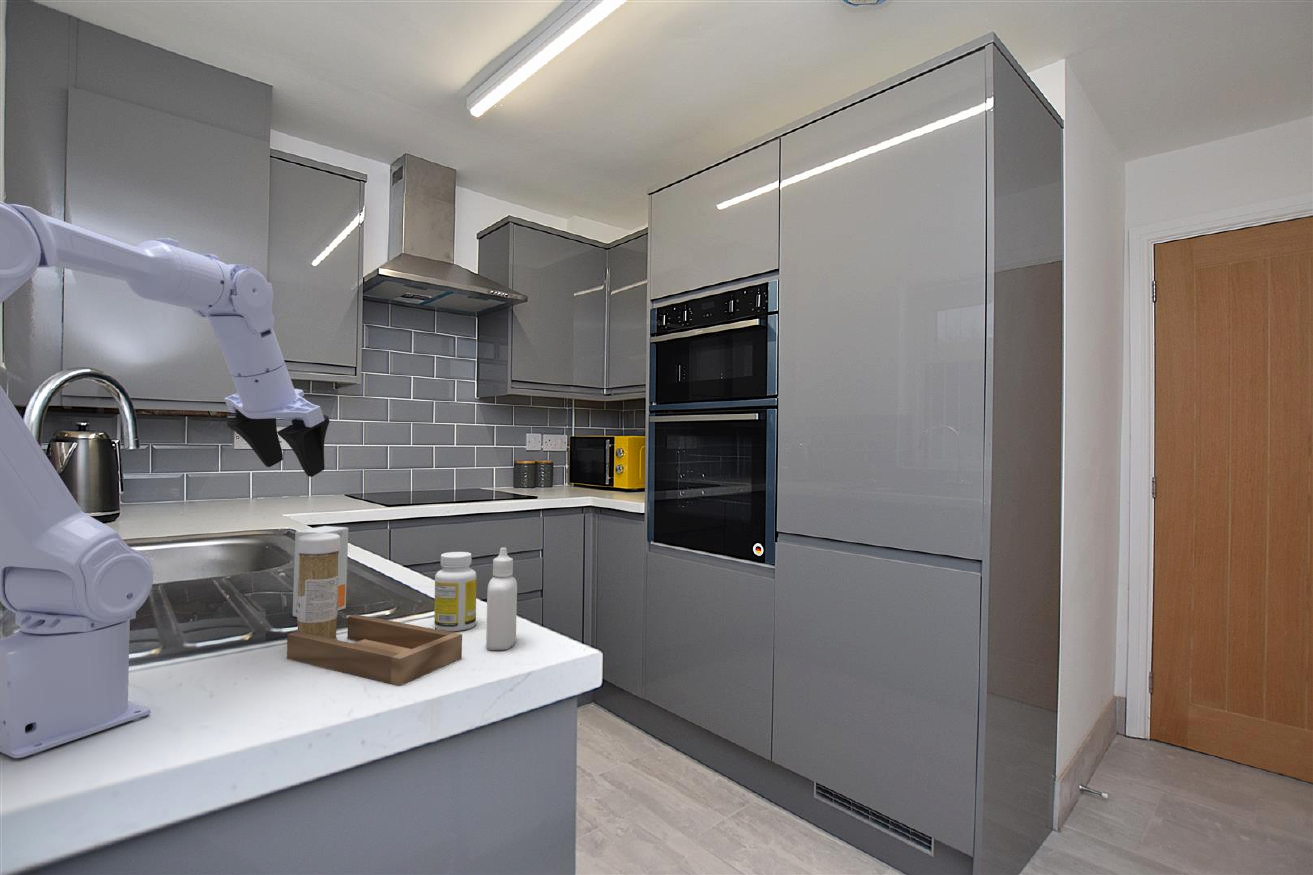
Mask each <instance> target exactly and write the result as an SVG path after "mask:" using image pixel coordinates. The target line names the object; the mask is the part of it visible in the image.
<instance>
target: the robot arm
mask: <svg viewBox="0 0 1313 875" xmlns="http://www.w3.org/2000/svg"><path fill="white" fill-rule="evenodd" d="M51 267H55V268H56V267H57V268H61V269H67V270H70V271H75V272H76V271H77V272H81V273H86V274H91V275H96V276H101V277H106V278H111V279H116V280H122V281H125V282H126V283H127V286H128V287H129V289H131V291H132V292H133V293H134V294H136V295H137V296H138V297H140V298H142V299H145V300H151V301H155V302H159V303H163V304H168V305H172V306H176V307H181V308H185V309H190V310H191V311H192V312H193V313H195V315H197V316H198V317H200V318H206V317H207V318H208V321H209V322H210V326H211V329H212V331H213V333H214V336H215V339H216V340H217V344H218V346H219V349H220V351H221V353H222V357H223V359H224V361H225V364H226V366H227V369H228V371H229V374H230V377H231V379H232V382H233V384H234V387H235V389H236V393H234V394H231V395H229V396H226V397H224V399H223V400H224V401H225V405H226V406H227V410H228V412H229V413H231V414H235V416H234V417H233V418H231V419H229V420H227V421H226V425H227V427H228V428H229V429H231V430H232V431H233V432H235V433H236V434H237V435H238V436H240V437H241V438H242V439H243V440H244V441H245V442H246V443H247V444H248V446H249V447H250V448H251V449H252V451H254V453H255V454H256V456H257V457H258V458H259V460H260V461H261V462H262V464H263V465H264V466H265V467H267V468H271V467H273V466H275V465H277V464H278V463H281V462H282V461H283V460H284V456H283V455H284V454H283V451H282V445H281V442H280V438H281V439H283V440H284V441H285V443H286V444H287V445H289V447H290V448H291V449H292V451H293V453H294V454H295V456H296V457H297V460H298V462H299V464H300V466H301V468H302V470H303V472H304V473H305V474H306V476H307V477H309V478H312V477H314V476H316V475H318V474H319V473H321V472H323V471H325V466H326V465H325V440H326V435H327V429H328V427H329V425H330V417H329V416H328V415H326V414H324V413H323V411H322V408H321V406H320V405H317V404H314V403H312V402H310V401H309V400H307V399H306V398H304V396H305V393H304V390H303V389H299V388H295V387H294V385H293V381H292V379H291V376H290V373H289V370H288V368H287V365H286V362H285V361H286V360H285V358H284V356H283V353H282V350H281V347H280V344H279V341H278V339H277V336H276V332H275V331H274V327H275V320H276V318H275V315H274V313H273V302H274V301H273V300H274V289H273V285H272V282H268V280H267V278H266V277H265V276H264V275H263V273H262V272H260V271H259V270H258V269H256V268H255V267H253V266H252V265H249V264H245V263H239V264H238V263H237V264H236V263H234V264H226V263H225V262H223V261H221V260H220V257H219V256H218V255H215V254H212V253H202V254H200V253H196V252H193V251H192V250H191V251H190V250H187V249H184V248H181V247H180V241H179V240H175V239H172V238H170V237H163V238H162V237H161V238H160V237H158V238H156V239H155V240H154V239H153V240H151V239H150V240H145V241H142V242H141V243H138V244H137V245H132V244H128V243H126V242H123V241H119V240H117V239H114V238H111V237H109V236H105V235H103V234H101V233H97V232H94V231H92V230H89V229H86V228H83V227H81V226H78V225H75V224H72V223H69V222H66V221H64V220H61V219H57V218H56V217H52V216H50V215H46V214H44V213H41V212H39V211H38V210H37V209H34V208H33V207H32V206H27V205H20V204H16V203H5V202H4V201H1V200H0V305H1V304H3V302H5V301H6V300H7V299H8V298H9V297H10V296H11V295H12V294H14V293H15V292H16V291H17V290H19V288H20V287H22V286H23V285H24V284H25V283H26V282H28V281H29V279H30V278H31V277H33V275H34V274H35V273H36V271H37V270H38V268H40V269H41V268H51ZM19 413H20V412H18V410H17V408H16V407H15V405H14V404H13V402H12V401H11V400H10V397H9V396H8V394H7V393H6V392H5V390H4V388H3V387H2V385H1V384H0V602H1V604H2V605H3V607H5V608H6V609H7V610H9V611H11V612H12V613H14V614H15V616H14V617H15V618H14V619H15V620H14V621H15V626H17V627H18V626H19V630H18V631H16V632H14V633H12V634H10V635H7V636H5V637H1V638H0V753H2V754H4V755H7V756H9V757H11V758H12V759H21V758H26V757H27V756H31V755H33V754H37V753H39V752H43V751H46V750H49V749H51V748H52V749H53V748H54V747H57V746H60V745H63V744H66V743H69V742H72V741H75V740H78V739H80V738H81V739H82V738H84V737H86V736H89V735H92V734H96V733H99V732H102V731H104V730H108V729H110V728H113V727H116V726H120V725H121V724H122V725H123V724H125V723H128V722H130V721H133V720H137V719H139V718H142V717H145V716H148V715H150V714H151V712H152V711H151V710H152V708H150V707H149V706H145V705H142V704H139V703H136V702H133V701H129V670H130V669H129V668H130V667H129V665H130V621H131V620H135V619H136V617H137V611H138V610H139V609H140V608H141V607H142V606H143V605H144V604H145V602H146V600H147V599H148V597H149V596H150V593H151V591H152V587H153V584H154V570H153V566H152V564H151V562H150V560H149V559H148V557H147V556H146V555H145V554H143V552H141V551H139V550H137V549H134V548H132V547H130V546H129V545H128V544H127V543H126V542H125V541H124V540H123V538H122V537H121V535H120V533H119V532H118V531H117V530H115V529H113V528H112V527H110V526H108V525H107V524H105V523H103V522H101V521H100V520H98V519H96V518H94V517H93V516H91V515H89V514H87V513H85V512H84V511H83V510H82V509H81V508H80V506H79V504H78V503H77V501H76V500H75V498H74V496H73V494H72V493H71V492H70V491H69V489H68V487H67V486H66V484H65V483H64V481H63V479H62V478H61V476H60V475H59V473H58V471H57V470H56V469H55V467H54V466H53V464H52V463H51V461H50V459H49V457H48V456H47V455H46V453H45V452H44V450H43V448H42V447H41V445H40V444H39V443H38V441H37V439H36V437H35V436H34V435H33V433H32V432H31V430H30V429H29V427H28V425H27V424H26V423H25V421H24V419H23V418H22V416H21V414H19ZM277 419H280V420H281V419H282V420H287V421H291V424H289V425H288V426H286V427H283V428H281V429H280V430H278V429H277ZM279 437H280V438H279Z"/></svg>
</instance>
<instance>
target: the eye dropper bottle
mask: <svg viewBox="0 0 1313 875" xmlns="http://www.w3.org/2000/svg"><path fill="white" fill-rule="evenodd" d="M513 566H514V559H513V557H510V556H509V555H508V550H507V547H500V549H499V553H498V556H496V557H495V558H493V559H492V578H491V579H490V580H489V582H488V585H487V591H486V594H487V595H486V600H487V601H486V635H485V636H486V637H485V640H486V643H485V646H486V648H487V650H489V651H506V650H508V649H510V648H512V647H513V646H515V643H516V640H517V609H518V605H517V604H518V603H517V600H518V599H517V598H518V582H517V580H516V578H515V577H514V576H513V574H514V573H513V571H514V567H513ZM511 646H512V647H511Z"/></svg>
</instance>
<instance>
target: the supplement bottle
mask: <svg viewBox="0 0 1313 875" xmlns="http://www.w3.org/2000/svg"><path fill="white" fill-rule="evenodd" d="M472 562H473V561H472V553H471V552H467V551H449V552H444V553H442V554H441V555H440V566H441V568H442V569H440V570H438V571H437V572H436V573H435V576H434V627H435V628H436V629H437V630H442V631H448V632H459V631H460V632H461V631H465V630H469V629H472V628H473V627H474V626H475V625H476V623H477V572H476V571H475V570H474V569H473V568H470V565H472Z"/></svg>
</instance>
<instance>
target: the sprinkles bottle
mask: <svg viewBox="0 0 1313 875" xmlns="http://www.w3.org/2000/svg"><path fill="white" fill-rule="evenodd" d="M339 550H340V536H339V535H338V534H333V533H316V534H307V535H303V536H300V537H299V538H298V552H299V553H300V554H299V556H300V558H299V583H298V606H297V617H296V619H297V632H302V633H307V634H311V635H316V636H321V637H325V638H330V639H335V640H338V637H337V623H338V622H337V618H338V613H339V611H338V554H339Z"/></svg>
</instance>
